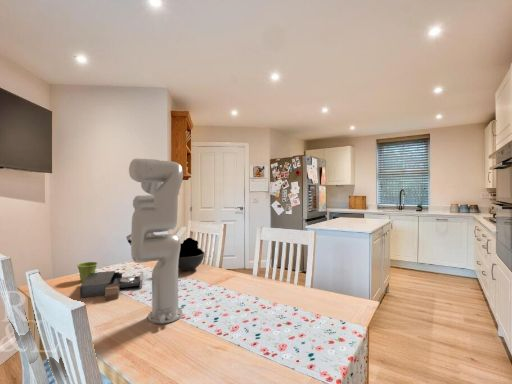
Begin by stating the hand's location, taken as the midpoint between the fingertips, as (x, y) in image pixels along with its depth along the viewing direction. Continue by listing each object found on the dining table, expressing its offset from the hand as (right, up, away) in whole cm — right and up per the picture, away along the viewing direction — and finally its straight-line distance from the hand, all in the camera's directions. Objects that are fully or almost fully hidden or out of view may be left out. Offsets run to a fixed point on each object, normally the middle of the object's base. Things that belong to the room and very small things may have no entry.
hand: (142, 252), depth 141 cm
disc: (-7, -14, -2) cm, 16 cm away
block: (-7, -16, -17) cm, 25 cm away
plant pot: (-32, -16, +6) cm, 36 cm away
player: (-18, -16, -6) cm, 25 cm away
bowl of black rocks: (+17, -16, +25) cm, 34 cm away
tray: (-7, -16, -2) cm, 17 cm away
